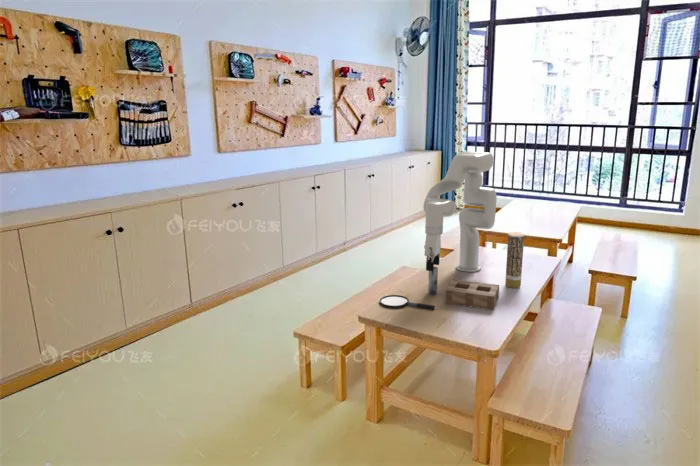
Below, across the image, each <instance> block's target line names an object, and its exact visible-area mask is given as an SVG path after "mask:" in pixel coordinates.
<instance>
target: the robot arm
mask: <svg viewBox="0 0 700 466" xmlns="http://www.w3.org/2000/svg"><path fill="white" fill-rule="evenodd" d="M494 160H495V159H494V155H493V154H492V153H491V152H488V151H487V152H485V151H461V152H459V153H458V154H455V156H453V158H452V160H451V163H450V165H449V167H448V170H447V171H446V173H445V174H446V175H445V177H444V178H443V179H441V180H440V181H438V182H437V183H436V184H434V185H432V187H431V188H430V189H429V191H428V192H427V194H426V196H425V198H424V202H423V206H422V207H423V211H424V212H425V228H424V229H425V230H424V234H425V235H426V236H425V242H424V254H423V255H424V257H426V260H425V261H426V262H425V270H426V272H427V271H428V272H429V271H433V270H434V267H435V266H439V265H440V252H441V249H442V248H441V246H442V245H441V243H442V242H441V241H442V240H441V239H442V238H441V236H442V235H444V218H446V217H447V218H448V217H451V216H453V215H454V214H455V212H456V211H457V204H456V203H455V201H454V200H452V199H446V198H439V197H440V196H442V195H443V194H446V193H450V192H452V191H455V190H458V189H460V188H461V187H463V186H464V187H463V202H464V203H465V205H468V206H473V207H474V208H473V207H465V208H463V209H461V210H460V211H459V214H458V220H459V221H458V223H459V229H460V231H459V232H460V234H459V235H460V237H459V263H457V264H456V265H455V267H456V270H458V271H462V272H466V273H474V272H480V271H481V270H482V266H481V265H480V264H479V256H480V255H479V254H480V253H479V252H480V233H479V231H478V229H484V230H491V229H492V228H493V227H494V225H495V222H496V221H495V220H496V212H497V211H496V210H497V199H498V197H497V192H496V190H495V189H493V188H492V187H486V186H485V187H483V175H482V173H484V172H487V171H490V170H491V169H492V167H493V166H494V162H495V161H494ZM475 207H482V208H483V209H482V208H475Z"/></svg>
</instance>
